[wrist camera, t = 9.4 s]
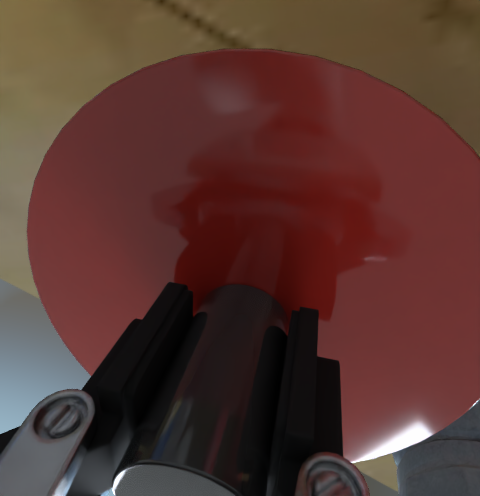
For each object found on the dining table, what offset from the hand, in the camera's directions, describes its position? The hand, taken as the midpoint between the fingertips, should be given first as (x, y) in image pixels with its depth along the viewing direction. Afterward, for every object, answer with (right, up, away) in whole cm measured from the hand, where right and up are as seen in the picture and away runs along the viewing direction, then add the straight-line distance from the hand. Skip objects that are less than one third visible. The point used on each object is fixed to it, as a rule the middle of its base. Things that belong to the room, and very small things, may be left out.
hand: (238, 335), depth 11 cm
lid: (0, +1, +1) cm, 1 cm away
